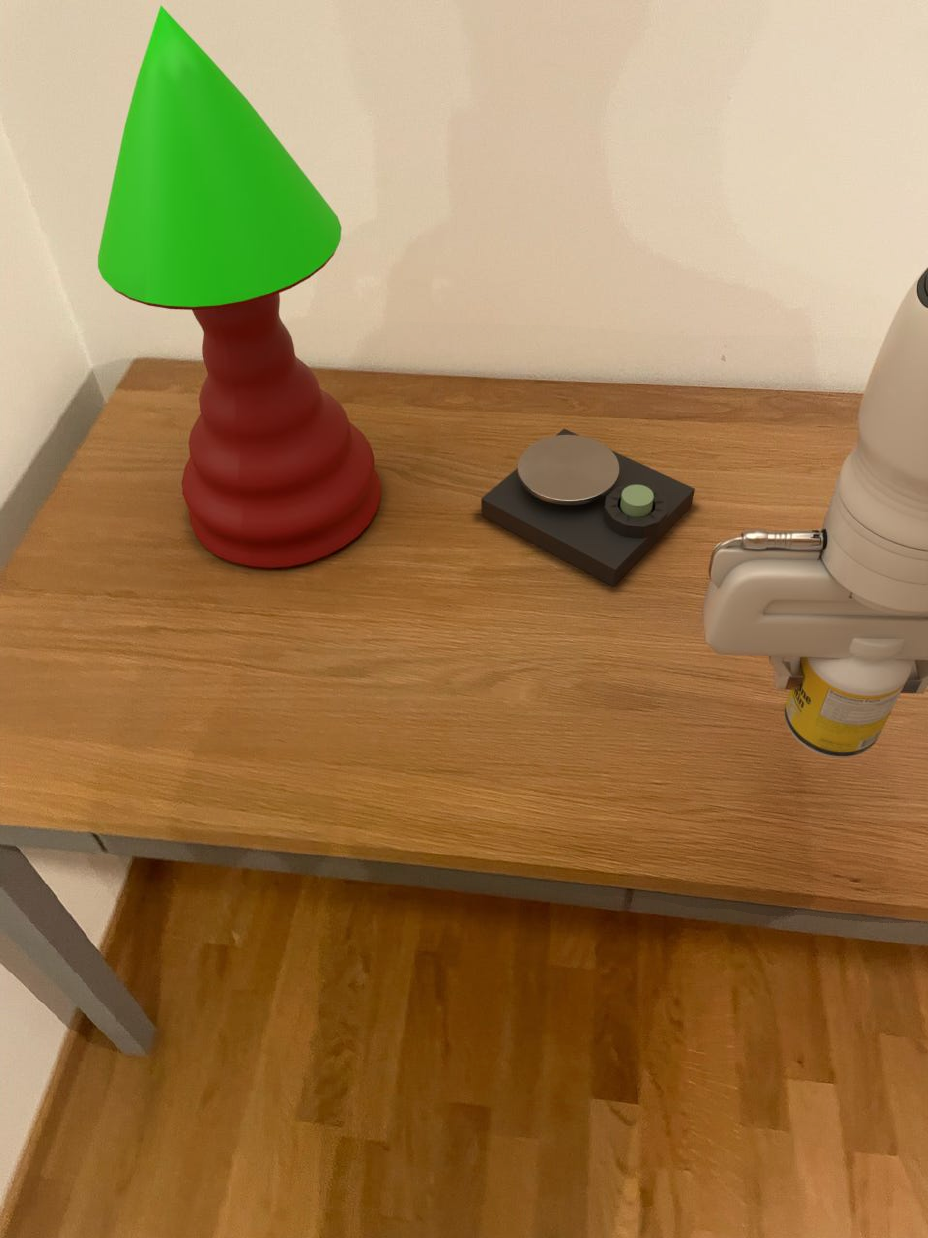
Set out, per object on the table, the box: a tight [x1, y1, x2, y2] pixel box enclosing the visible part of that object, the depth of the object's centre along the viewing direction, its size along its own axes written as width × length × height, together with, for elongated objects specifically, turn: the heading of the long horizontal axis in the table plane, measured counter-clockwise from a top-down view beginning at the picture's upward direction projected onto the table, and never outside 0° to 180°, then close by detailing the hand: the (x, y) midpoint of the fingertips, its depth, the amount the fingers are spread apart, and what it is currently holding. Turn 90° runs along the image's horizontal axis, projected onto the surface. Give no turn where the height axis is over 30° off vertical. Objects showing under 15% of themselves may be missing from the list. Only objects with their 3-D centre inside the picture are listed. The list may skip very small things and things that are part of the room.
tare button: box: [620, 485, 654, 517], centre depth 88 cm, size 3×3×2 cm
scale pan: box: [517, 434, 619, 505], centre depth 91 cm, size 10×10×1 cm
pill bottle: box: [784, 638, 913, 759], centre depth 61 cm, size 6×6×12 cm
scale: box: [480, 428, 696, 587], centre depth 92 cm, size 16×14×4 cm
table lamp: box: [97, 5, 382, 569], centre depth 79 cm, size 20×20×45 cm
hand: (846, 683), depth 62 cm, fingers closed on pill bottle, 6 cm apart
